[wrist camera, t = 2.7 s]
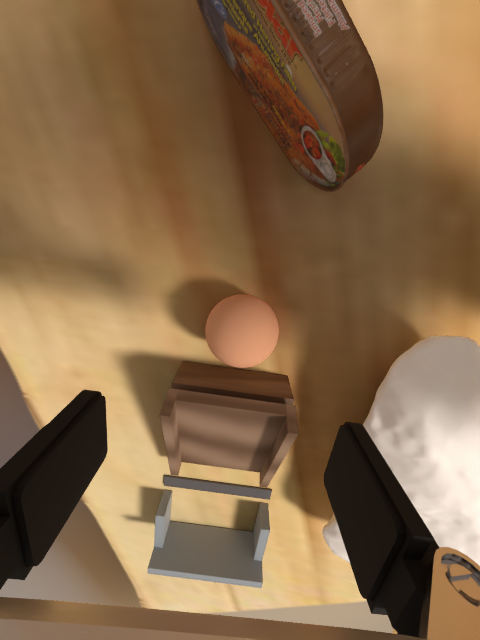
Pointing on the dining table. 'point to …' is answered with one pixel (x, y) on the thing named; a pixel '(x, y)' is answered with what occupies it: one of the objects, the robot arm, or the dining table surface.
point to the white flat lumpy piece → (432, 439)
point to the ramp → (228, 419)
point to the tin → (304, 80)
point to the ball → (242, 331)
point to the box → (210, 540)
